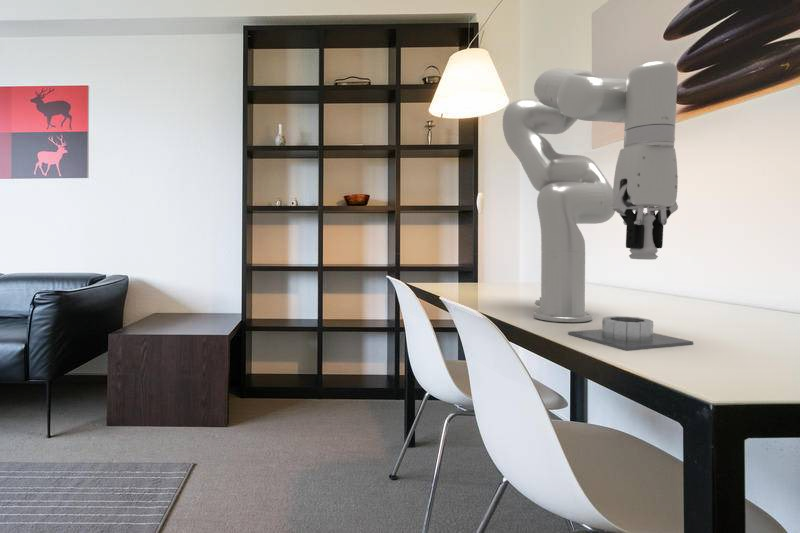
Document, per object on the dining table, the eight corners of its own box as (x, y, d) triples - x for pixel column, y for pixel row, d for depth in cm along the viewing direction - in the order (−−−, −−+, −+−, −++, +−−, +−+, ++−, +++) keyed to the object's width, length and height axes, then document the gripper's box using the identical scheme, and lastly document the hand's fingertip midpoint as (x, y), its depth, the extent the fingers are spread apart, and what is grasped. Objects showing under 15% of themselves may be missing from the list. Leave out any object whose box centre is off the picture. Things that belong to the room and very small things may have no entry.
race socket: (568, 334, 82) (568, 316, 82) (627, 329, 86) (627, 312, 86) (626, 350, 69) (626, 328, 68) (693, 344, 73) (693, 323, 73)
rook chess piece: (662, 259, 73) (664, 212, 72) (633, 259, 74) (635, 212, 73) (652, 258, 77) (654, 213, 76) (625, 257, 78) (626, 213, 77)
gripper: (665, 147, 80) (661, 247, 81) (593, 142, 75) (589, 248, 76) (705, 139, 73) (699, 248, 74) (628, 132, 68) (623, 249, 69)
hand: (643, 247), depth 75 cm, fingers closed on rook chess piece, 3 cm apart
